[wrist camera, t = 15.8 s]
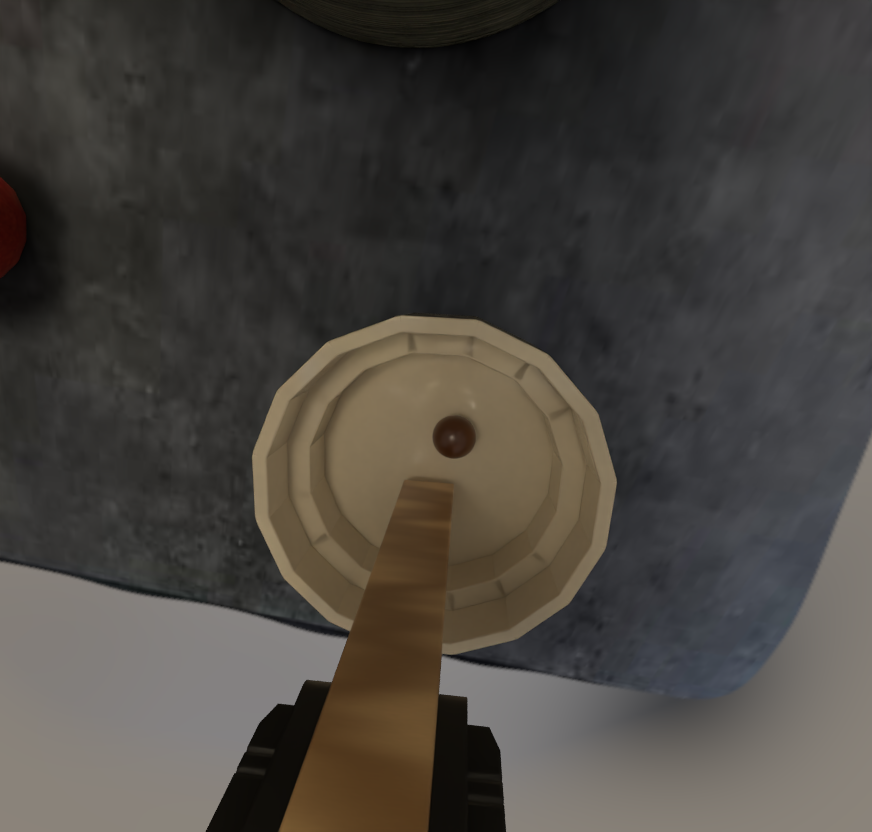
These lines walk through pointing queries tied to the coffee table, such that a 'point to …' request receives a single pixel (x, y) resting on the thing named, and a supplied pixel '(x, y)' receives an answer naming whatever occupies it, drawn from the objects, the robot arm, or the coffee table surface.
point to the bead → (454, 436)
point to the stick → (384, 685)
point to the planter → (417, 19)
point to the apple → (10, 228)
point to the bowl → (436, 471)
